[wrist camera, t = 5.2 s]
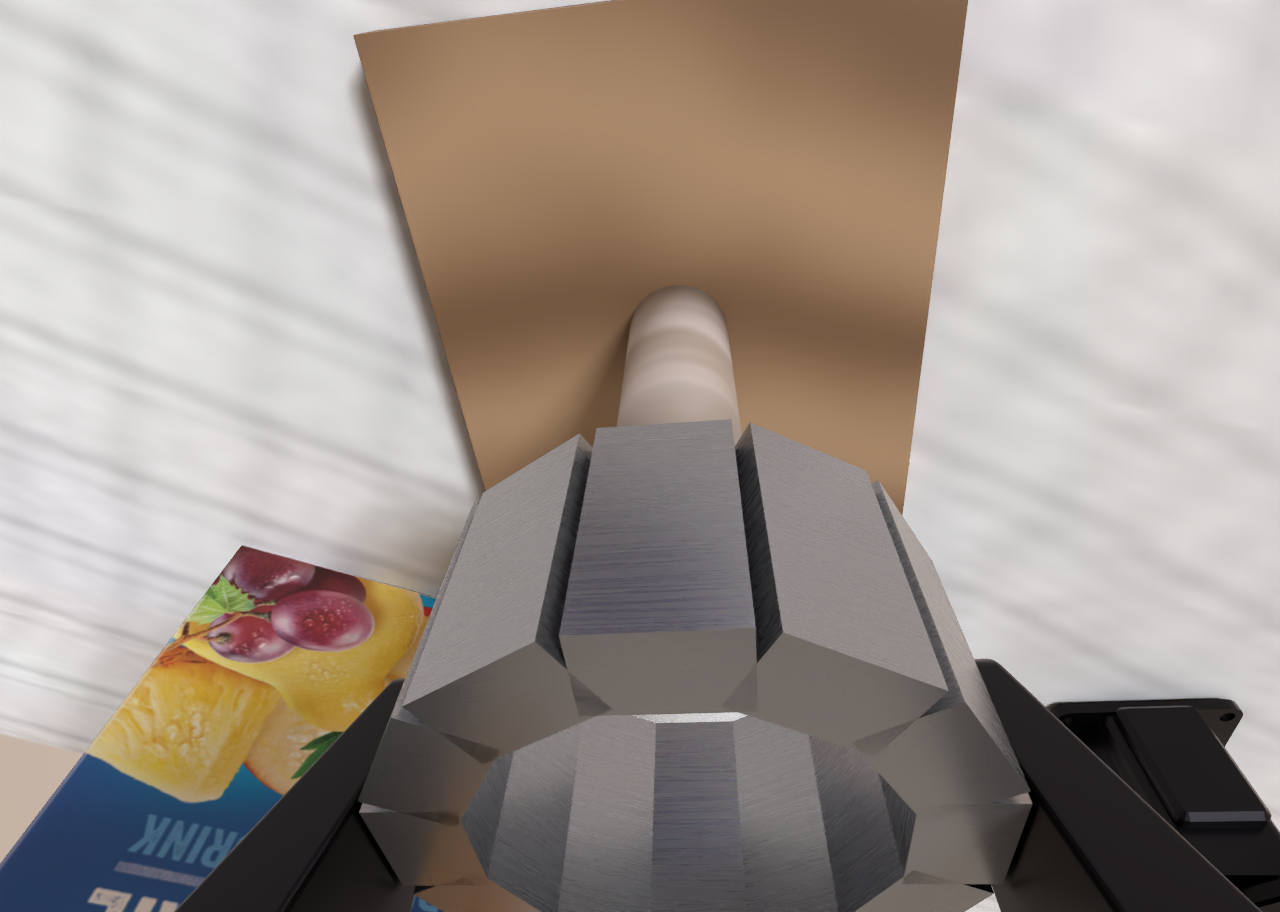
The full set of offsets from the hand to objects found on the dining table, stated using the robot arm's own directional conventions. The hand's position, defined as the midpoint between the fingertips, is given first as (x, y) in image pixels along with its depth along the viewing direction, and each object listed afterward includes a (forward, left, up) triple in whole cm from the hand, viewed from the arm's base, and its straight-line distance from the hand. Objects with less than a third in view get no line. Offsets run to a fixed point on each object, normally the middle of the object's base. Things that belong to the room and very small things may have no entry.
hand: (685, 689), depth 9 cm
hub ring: (0, 0, -1) cm, 1 cm away
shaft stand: (0, 0, -12) cm, 12 cm away
